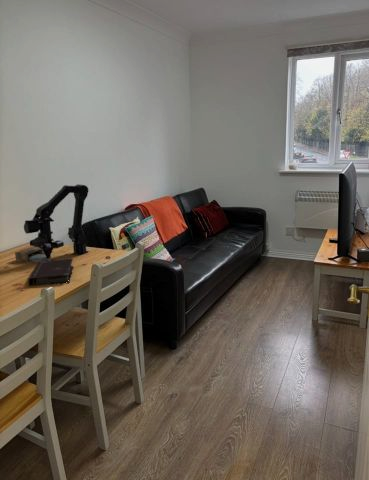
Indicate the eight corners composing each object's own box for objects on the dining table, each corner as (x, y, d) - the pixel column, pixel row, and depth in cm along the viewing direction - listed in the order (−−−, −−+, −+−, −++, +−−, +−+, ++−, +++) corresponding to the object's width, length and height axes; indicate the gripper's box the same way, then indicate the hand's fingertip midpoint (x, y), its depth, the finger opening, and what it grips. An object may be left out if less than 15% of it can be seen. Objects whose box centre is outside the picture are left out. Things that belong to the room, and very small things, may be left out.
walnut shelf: (45, 255, 225) (44, 246, 224) (25, 262, 212) (24, 253, 211) (35, 253, 228) (34, 245, 227) (15, 261, 214) (14, 251, 213)
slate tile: (51, 259, 219) (50, 255, 218) (41, 263, 211) (40, 259, 211) (34, 257, 223) (33, 253, 222) (23, 261, 216) (23, 257, 215)
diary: (28, 288, 177) (27, 277, 176) (37, 270, 201) (36, 261, 199) (71, 284, 180) (70, 273, 179) (75, 267, 204) (74, 258, 203)
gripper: (20, 232, 208) (23, 260, 211) (48, 235, 201) (51, 264, 204) (35, 228, 218) (38, 255, 221) (63, 230, 211) (65, 258, 214)
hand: (48, 258), depth 215 cm, fingers closed
